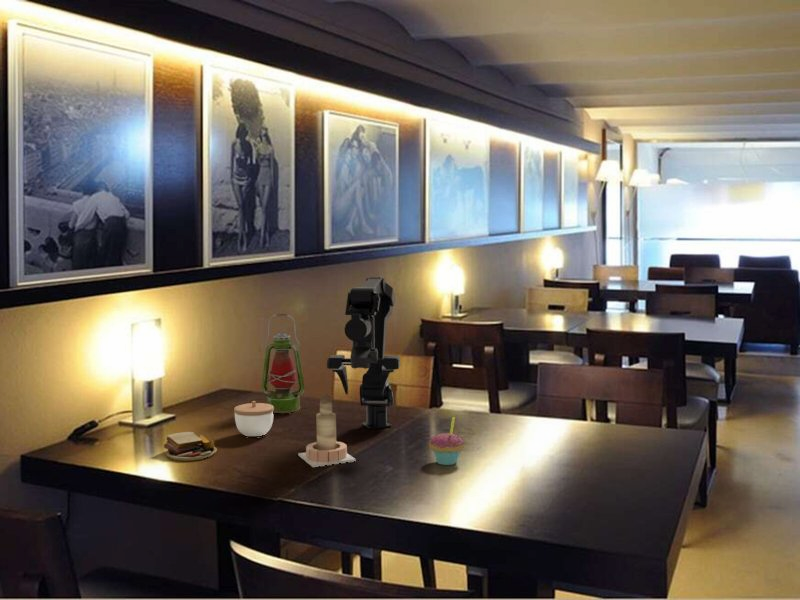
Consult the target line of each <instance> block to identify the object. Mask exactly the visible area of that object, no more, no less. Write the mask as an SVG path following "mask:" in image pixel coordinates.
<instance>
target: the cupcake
mask: <svg viewBox="0 0 800 600" xmlns="http://www.w3.org/2000/svg"><path fill="white" fill-rule="evenodd" d="M455 416H456V414H454V415H453V417H451V421H450V422H451V423H450V430H449V432H447V433H446V432H444V433H443V432H442V433H438V434H435V435H434V436H432V437H431V438H430V439H429V442H428V447H429V450H431V451H432V452H433V455H434V457H435V460H436V462H437V464H439V465H443V466H449V465H450V466H451V465H455V464H457V462H458V458H459V455H460V453H461V451H463V449H464V448H465V447H464V446H465V444H466V443H465V441H464V440H463V439H462V437H460V436H459V435H457V434H454V433H453V432H454V426H455V420H456V417H455Z"/></svg>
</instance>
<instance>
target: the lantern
mask: <svg viewBox="0 0 800 600" xmlns="http://www.w3.org/2000/svg"><path fill="white" fill-rule="evenodd" d="M274 317H289V318H291V319H292V321H293V327H294V328H293V329H294V339H295V340H296V342H297V344H298V345H296V344H294V343H291V335H289V334H287V333H285V332H286V328H285V326H279V327H278V329H281V328H283V331H281V330H278V332H279V333H277V334H275V335H273V338H274V339H273V342H272V343H269V344H268V345H267V342H268V340H269V339H270V329H271V328H270V327H271V326H270V323H271V320H272V319H273V318H274ZM267 325H268V326H267V330H268V331H267V339H266V340H265V342H264V345H265V347H266V348H265V354H264V363H263V371H262V380H261V381H262V382H261V389H262V391H263V393H264V394H267V397H266V404H270V405H273V407H274V411H276V412H293V411H297V410H299V409H300V408H301V406H300V396H301V395H303V394H304V392H305V381H304V375H303V367H302V363H301V361H302V360H301V356H300V350H299V347H300V341H299V340H298V337H297V331H296V330H297V329H296V321H295V318H293V316H292V315H289V314H288V313H276V314H273V315H271V316H270V318H269V320H268V323H267ZM272 350H275V354H274V355H273V356H274V357H273V359H272V360H273V361H272V364H271V370H269V369H270V368H269V367H270V360H271V351H272ZM290 350H292V351H293V354H294V361H295V366H296V367H295V366H294V362H293V359H292V356H291V353H290ZM295 368H296V370H295ZM296 372H297V373H296ZM296 374H297V377H296ZM297 378H298V381H297ZM269 383H270V385H272V386H273V387H274V389H275V390H274V391H273V390H270V389H268V388H269ZM295 384H298V387H299V389H298V390H296V391H293V390H291V388H292V387H293V386H294V385H295Z"/></svg>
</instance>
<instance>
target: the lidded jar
mask: <svg viewBox="0 0 800 600" xmlns="http://www.w3.org/2000/svg"><path fill="white" fill-rule="evenodd" d="M233 410H234V411H233V413H234V422H235V426H236V428H237V430H238V432H240V433H241V434H242V435H245V436H262V435H265V434H267V433H268V432H269V431H270V430H271V429H272V426H273V422H274V414H273V411H274V407H273V405H270V404H267V403H266V402H265V403H261V402H257V401H256V400H253V401H251V403H250V402H249V403H243V404H239V405H237V406H235V407H234V409H233ZM265 436H266V435H265Z"/></svg>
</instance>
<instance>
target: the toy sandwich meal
mask: <svg viewBox="0 0 800 600" xmlns="http://www.w3.org/2000/svg"><path fill="white" fill-rule="evenodd" d="M163 449H166V451H165V455H166V456H167V457H168V458H169V459H171V460H173V461H180V462H182V461H184V462H189V461H190V462H191V461H193V462H194V461H199V460H200V461H201V460H204V458H205V459H208V458H210V457H212V456H214V454H215V453H216V452H217V451H218V450H217V449H218V448H217V447H216V446H215V440H213V439H212V440H208V439H207V437H205V436H204V435H203V434H201V435H199V436H198V435H196V434H195V432H193V431H183V432H181V431H180V432H175V433H171V434H167V436H166V443H164V444H163ZM207 457H208V458H207Z"/></svg>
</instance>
